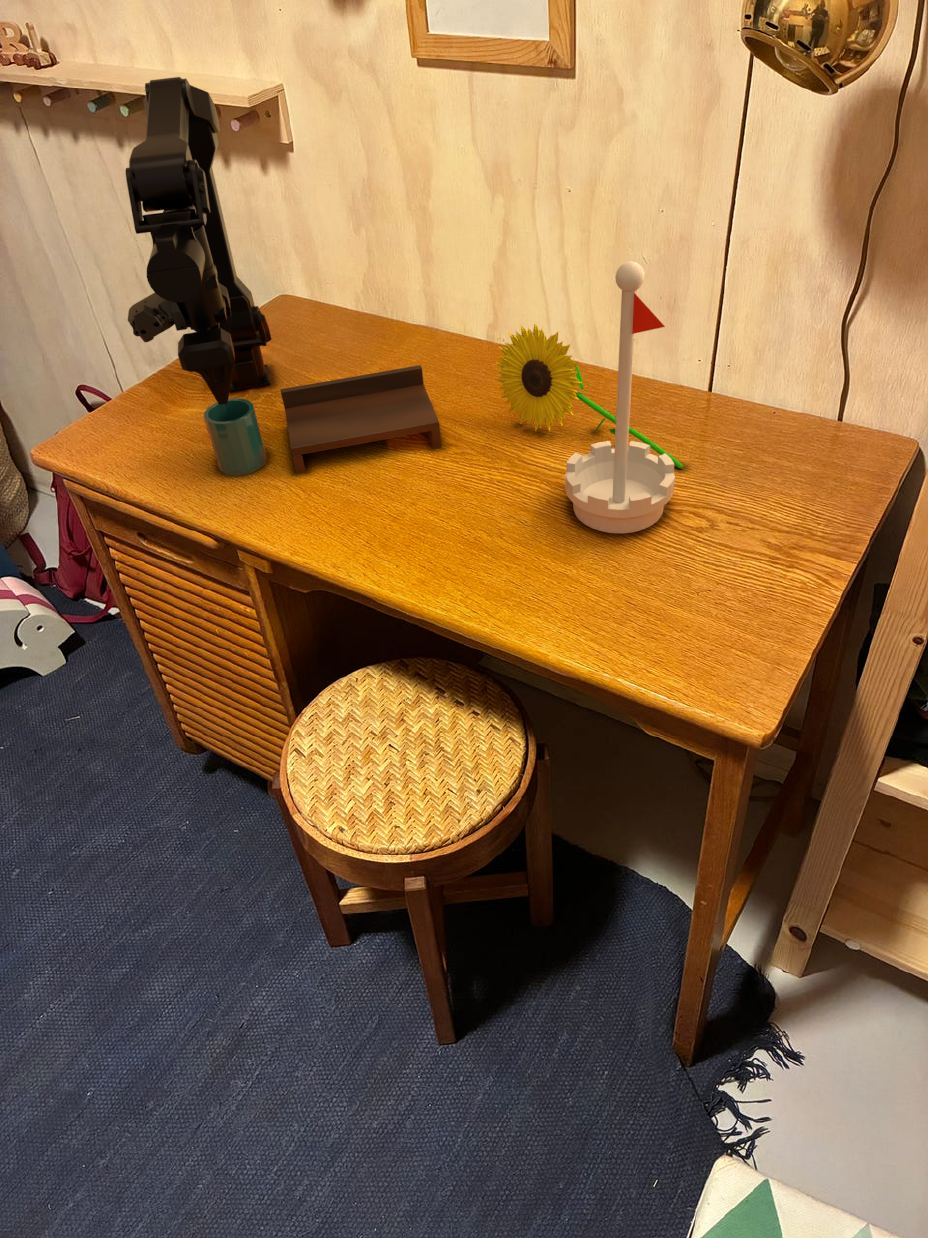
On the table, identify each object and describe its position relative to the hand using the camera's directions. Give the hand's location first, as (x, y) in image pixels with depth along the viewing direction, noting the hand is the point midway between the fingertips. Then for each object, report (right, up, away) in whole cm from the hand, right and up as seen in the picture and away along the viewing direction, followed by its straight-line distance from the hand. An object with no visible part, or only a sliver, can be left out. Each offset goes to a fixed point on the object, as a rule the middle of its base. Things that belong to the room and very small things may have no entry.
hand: (222, 386), depth 119 cm
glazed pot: (+1, -8, +8) cm, 11 cm away
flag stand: (+50, -16, -6) cm, 53 cm away
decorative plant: (+48, -6, +6) cm, 49 cm away
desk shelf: (+17, -5, +10) cm, 20 cm away
